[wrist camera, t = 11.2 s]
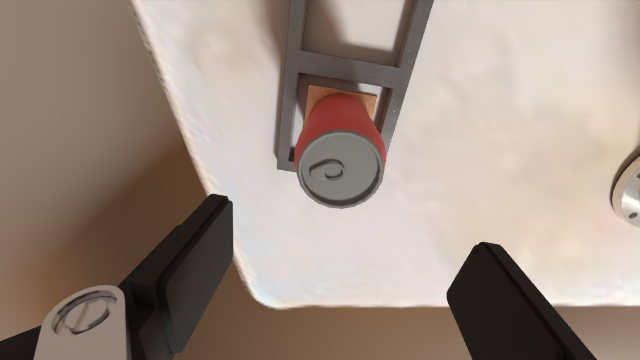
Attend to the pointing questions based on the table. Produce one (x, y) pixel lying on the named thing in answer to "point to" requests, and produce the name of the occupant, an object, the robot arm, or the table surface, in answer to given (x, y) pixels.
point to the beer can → (340, 153)
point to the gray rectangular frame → (345, 76)
